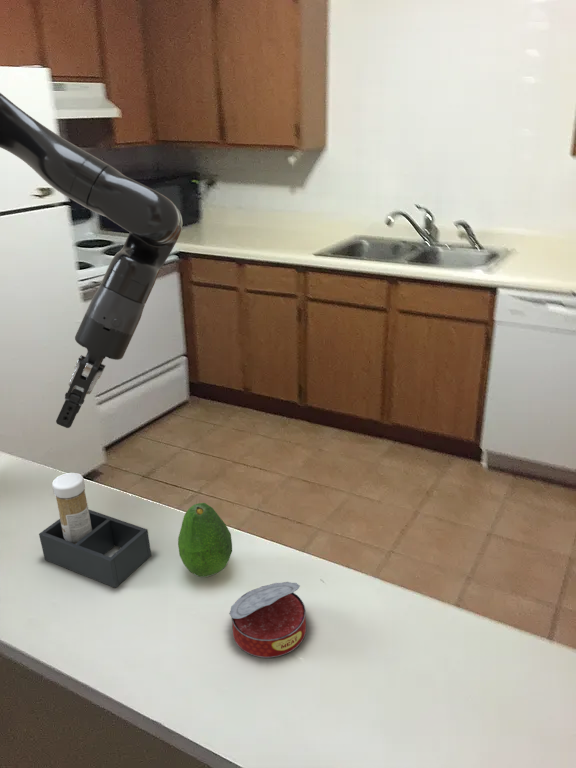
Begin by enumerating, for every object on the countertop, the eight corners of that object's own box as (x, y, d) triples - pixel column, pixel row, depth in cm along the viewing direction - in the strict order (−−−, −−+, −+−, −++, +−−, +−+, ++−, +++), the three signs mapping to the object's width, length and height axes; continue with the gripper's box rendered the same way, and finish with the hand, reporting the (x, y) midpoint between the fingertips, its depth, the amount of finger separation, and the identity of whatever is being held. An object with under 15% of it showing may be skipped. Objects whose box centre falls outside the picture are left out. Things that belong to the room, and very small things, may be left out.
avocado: (171, 580, 99) (162, 513, 94) (199, 549, 106) (192, 485, 101) (218, 595, 96) (211, 527, 91) (244, 562, 102) (239, 496, 97)
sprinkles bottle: (66, 546, 107) (51, 474, 102) (95, 539, 109) (82, 468, 103) (67, 563, 103) (51, 490, 98) (97, 556, 105) (84, 483, 99)
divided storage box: (44, 559, 104) (38, 533, 102) (82, 530, 111) (77, 505, 109) (115, 588, 98) (110, 561, 96) (151, 555, 105) (147, 529, 103)
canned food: (247, 680, 88) (206, 635, 83) (254, 618, 96) (216, 574, 92) (323, 654, 85) (284, 606, 80) (323, 592, 93) (287, 546, 89)
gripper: (91, 306, 105) (50, 398, 107) (80, 315, 92) (33, 420, 93) (136, 327, 107) (95, 416, 109) (132, 338, 94) (85, 440, 95)
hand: (66, 418), depth 101 cm, fingers open, 8 cm apart
